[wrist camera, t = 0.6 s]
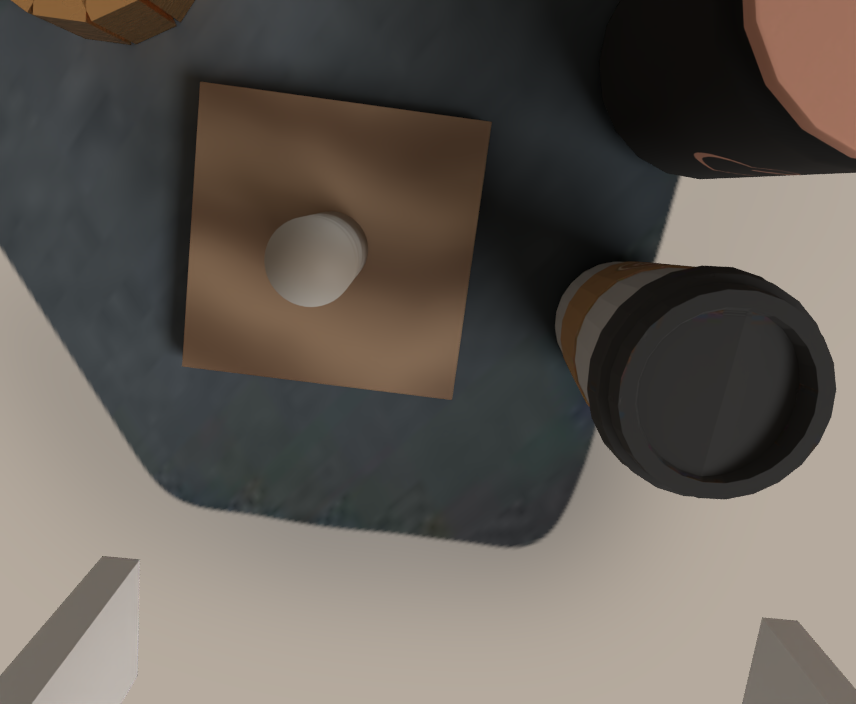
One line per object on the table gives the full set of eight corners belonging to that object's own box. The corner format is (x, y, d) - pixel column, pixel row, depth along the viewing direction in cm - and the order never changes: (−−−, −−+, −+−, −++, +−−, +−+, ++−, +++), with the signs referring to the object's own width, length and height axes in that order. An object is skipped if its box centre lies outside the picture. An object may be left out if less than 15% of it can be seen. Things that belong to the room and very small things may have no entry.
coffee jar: (621, 206, 38) (794, 219, 20) (569, -9, 36) (710, -201, 18) (826, 142, 37) (1185, 100, 20) (785, -80, 35) (1147, -349, 18)
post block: (209, 86, 37) (141, 52, 28) (489, 124, 37) (509, 103, 28) (191, 359, 40) (124, 408, 31) (450, 392, 40) (459, 448, 31)
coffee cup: (709, 257, 39) (885, 298, 24) (669, 408, 40) (810, 532, 26) (553, 227, 38) (635, 250, 24) (519, 381, 40) (576, 491, 25)
